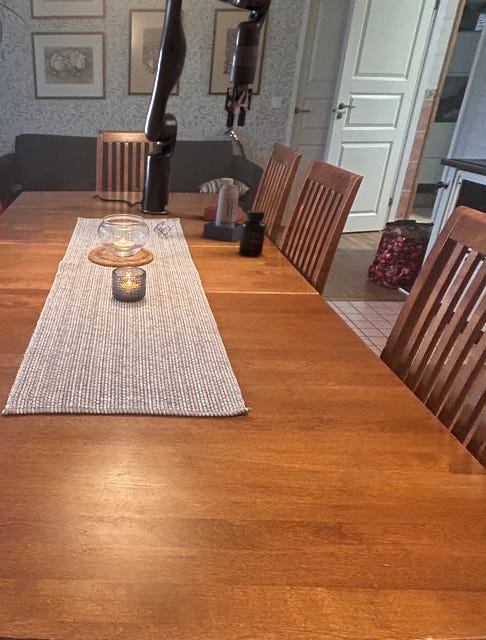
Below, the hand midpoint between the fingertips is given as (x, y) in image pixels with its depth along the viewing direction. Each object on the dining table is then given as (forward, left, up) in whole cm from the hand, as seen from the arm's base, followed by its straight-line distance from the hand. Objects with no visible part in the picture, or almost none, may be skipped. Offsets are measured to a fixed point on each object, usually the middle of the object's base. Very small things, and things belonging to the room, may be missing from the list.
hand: (234, 126), depth 185 cm
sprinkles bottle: (-9, +20, -31) cm, 38 cm away
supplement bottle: (+20, -25, -32) cm, 45 cm away
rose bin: (-9, +20, -31) cm, 39 cm away
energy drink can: (+4, -7, -31) cm, 32 cm away
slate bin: (+4, -8, -31) cm, 32 cm away
